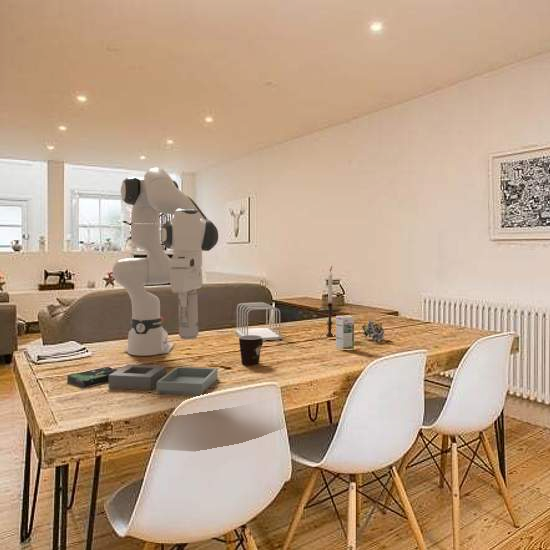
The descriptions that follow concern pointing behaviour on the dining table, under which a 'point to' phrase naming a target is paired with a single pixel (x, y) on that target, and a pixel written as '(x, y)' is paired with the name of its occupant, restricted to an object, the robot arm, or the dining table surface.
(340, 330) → the syrup box
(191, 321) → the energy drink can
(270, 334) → the file sorter
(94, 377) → the disk drive
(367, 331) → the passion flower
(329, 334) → the candlestick
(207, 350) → the dining table surface
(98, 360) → the dining table surface
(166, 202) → the robot arm
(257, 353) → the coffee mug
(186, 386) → the parts tray
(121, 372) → the socket block
